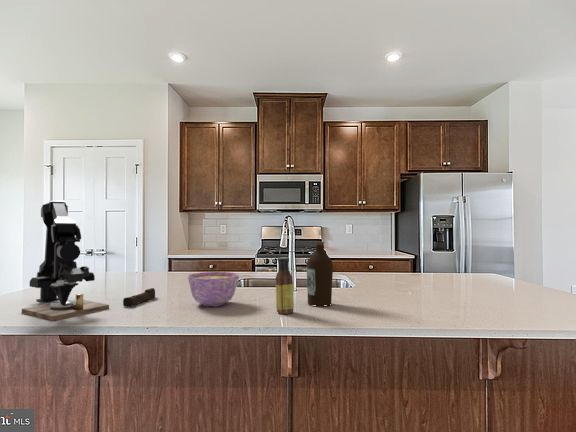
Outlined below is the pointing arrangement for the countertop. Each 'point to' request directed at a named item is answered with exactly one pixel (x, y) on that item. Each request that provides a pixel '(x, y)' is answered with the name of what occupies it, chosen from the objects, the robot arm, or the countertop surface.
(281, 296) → the sauce bottle
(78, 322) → the countertop surface
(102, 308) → the dial panel
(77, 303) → the dial
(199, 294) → the bowl of food
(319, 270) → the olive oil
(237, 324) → the countertop surface
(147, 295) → the hand tool
